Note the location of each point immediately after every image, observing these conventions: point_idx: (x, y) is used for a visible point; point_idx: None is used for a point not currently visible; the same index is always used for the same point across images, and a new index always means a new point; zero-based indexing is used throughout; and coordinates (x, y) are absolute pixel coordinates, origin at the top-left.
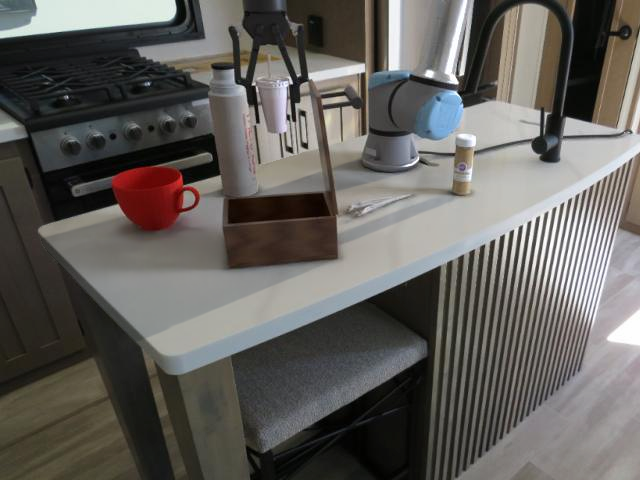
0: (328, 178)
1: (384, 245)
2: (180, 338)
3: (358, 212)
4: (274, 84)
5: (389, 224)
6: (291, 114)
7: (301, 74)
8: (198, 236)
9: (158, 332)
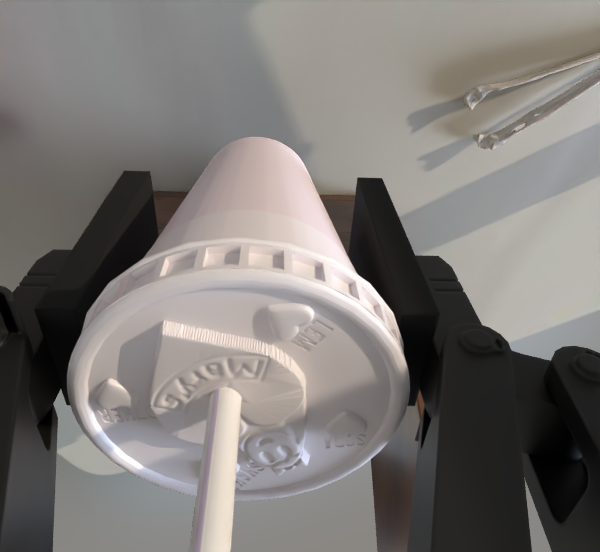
0: (373, 475)
1: (468, 292)
2: (100, 457)
3: (485, 137)
4: (255, 486)
5: (534, 199)
6: (359, 211)
7: (562, 405)
8: (21, 167)
9: (65, 445)
